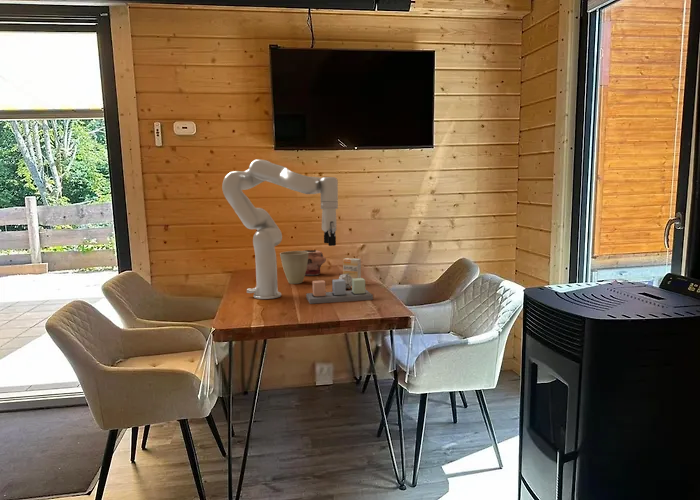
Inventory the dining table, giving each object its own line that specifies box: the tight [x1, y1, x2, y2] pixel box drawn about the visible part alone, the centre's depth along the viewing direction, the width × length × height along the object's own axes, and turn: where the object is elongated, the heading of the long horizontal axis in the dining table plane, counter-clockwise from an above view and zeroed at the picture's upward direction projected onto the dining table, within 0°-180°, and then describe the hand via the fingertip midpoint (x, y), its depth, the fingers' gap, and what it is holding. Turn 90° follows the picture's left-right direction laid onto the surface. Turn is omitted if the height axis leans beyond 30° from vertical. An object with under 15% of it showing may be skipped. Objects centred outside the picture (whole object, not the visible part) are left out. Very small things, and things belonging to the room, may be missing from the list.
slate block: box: [331, 278, 347, 295], centre depth 219 cm, size 5×5×6 cm
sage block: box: [351, 277, 366, 294], centre depth 221 cm, size 5×5×6 cm
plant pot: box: [279, 250, 309, 285], centre depth 257 cm, size 15×15×16 cm
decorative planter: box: [304, 249, 327, 276], centre depth 280 cm, size 20×12×14 cm, turn 91°
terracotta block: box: [312, 279, 327, 296], centre depth 217 cm, size 5×5×6 cm
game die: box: [338, 272, 353, 290], centre depth 239 cm, size 9×8×10 cm
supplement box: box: [342, 257, 362, 278], centre depth 252 cm, size 8×5×13 cm, turn 68°
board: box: [305, 289, 374, 305], centre depth 220 cm, size 28×12×2 cm, turn 103°
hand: (329, 244), depth 217 cm, fingers open, 9 cm apart
